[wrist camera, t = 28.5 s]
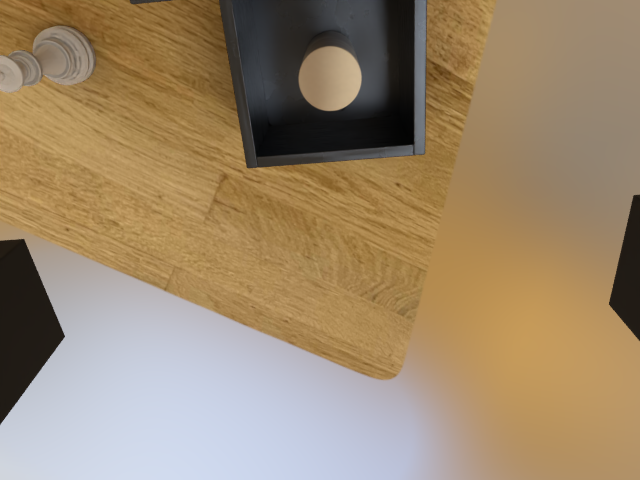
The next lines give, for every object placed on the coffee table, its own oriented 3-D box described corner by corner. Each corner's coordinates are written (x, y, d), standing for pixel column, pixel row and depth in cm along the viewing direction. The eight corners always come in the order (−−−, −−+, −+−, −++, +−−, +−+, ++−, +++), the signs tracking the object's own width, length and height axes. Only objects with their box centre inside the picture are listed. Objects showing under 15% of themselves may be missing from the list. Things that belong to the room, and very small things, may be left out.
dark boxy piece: (407, 121, 42) (425, 154, 34) (262, 133, 43) (247, 168, 35) (407, -65, 36) (427, -76, 28) (235, -47, 37) (209, -52, 29)
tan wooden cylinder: (354, 28, 38) (360, 42, 30) (356, 82, 40) (363, 108, 32) (302, 33, 38) (295, 48, 30) (307, 86, 40) (301, 113, 32)
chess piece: (30, 47, 40) (-55, 67, 31) (66, 13, 39) (-11, 24, 30) (71, 92, 42) (2, 124, 33) (108, 61, 40) (46, 86, 32)
